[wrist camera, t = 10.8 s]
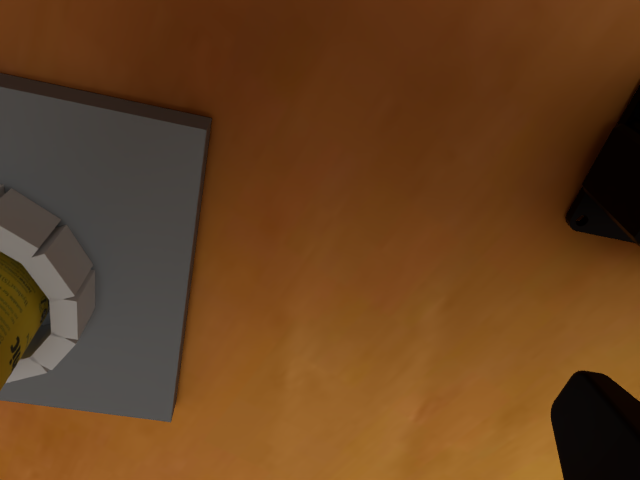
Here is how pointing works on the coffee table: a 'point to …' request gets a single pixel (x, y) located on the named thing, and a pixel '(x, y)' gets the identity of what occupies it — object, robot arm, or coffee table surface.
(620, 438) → the robot arm
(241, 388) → the coffee table surface
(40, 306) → the supplement bottle
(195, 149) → the mount plate
